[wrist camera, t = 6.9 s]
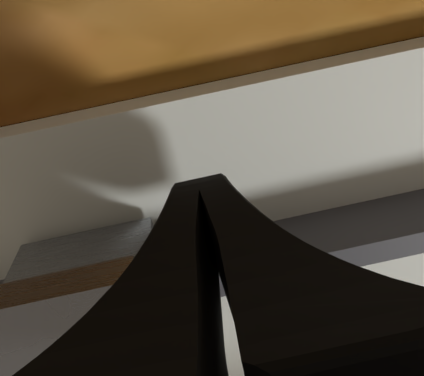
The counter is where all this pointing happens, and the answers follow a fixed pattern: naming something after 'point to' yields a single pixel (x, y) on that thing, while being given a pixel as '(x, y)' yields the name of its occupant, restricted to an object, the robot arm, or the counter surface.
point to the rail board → (241, 160)
